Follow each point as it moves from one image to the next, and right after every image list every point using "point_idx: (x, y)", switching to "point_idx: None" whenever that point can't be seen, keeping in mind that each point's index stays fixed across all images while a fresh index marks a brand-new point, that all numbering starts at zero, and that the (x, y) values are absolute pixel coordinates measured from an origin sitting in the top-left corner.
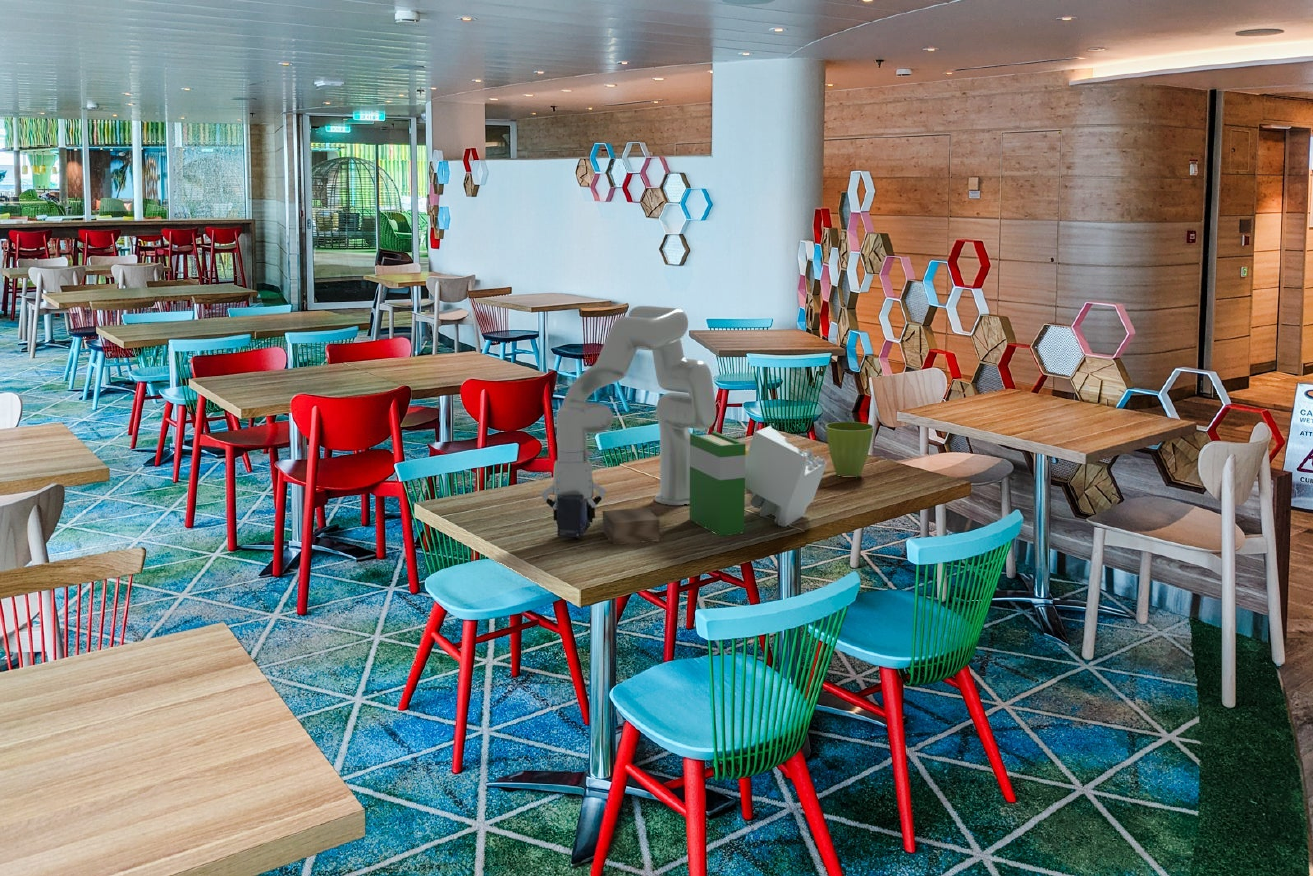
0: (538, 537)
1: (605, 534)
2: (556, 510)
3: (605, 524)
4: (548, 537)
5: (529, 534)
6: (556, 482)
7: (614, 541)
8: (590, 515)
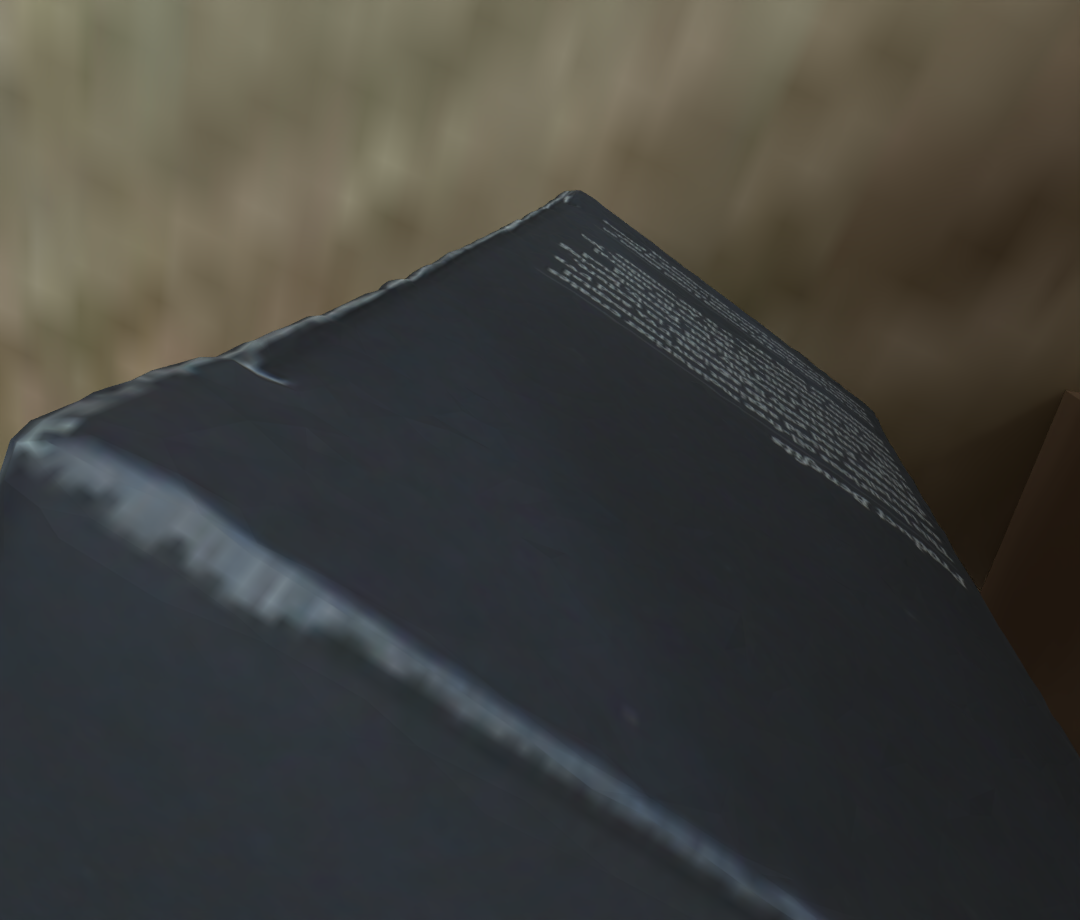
0: (161, 263)
1: (1006, 540)
2: None
3: (1068, 633)
4: (275, 316)
5: (59, 70)
6: None
7: None
8: None
